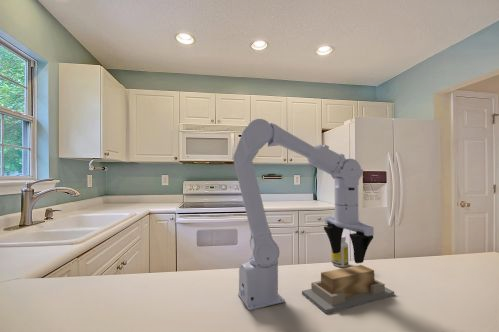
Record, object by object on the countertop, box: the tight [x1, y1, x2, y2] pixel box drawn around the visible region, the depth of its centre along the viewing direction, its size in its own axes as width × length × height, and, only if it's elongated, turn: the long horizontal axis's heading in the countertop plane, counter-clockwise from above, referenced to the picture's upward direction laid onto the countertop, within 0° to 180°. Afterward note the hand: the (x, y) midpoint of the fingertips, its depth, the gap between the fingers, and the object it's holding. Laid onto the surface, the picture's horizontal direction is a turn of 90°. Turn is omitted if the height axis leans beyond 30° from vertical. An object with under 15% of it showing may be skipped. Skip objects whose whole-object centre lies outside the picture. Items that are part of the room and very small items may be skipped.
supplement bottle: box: [331, 234, 349, 268], centre depth 79 cm, size 5×5×10 cm
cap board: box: [301, 278, 395, 314], centre depth 59 cm, size 22×9×3 cm, turn 112°
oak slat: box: [320, 264, 375, 297], centre depth 59 cm, size 14×4×5 cm, turn 112°
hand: (347, 257), depth 59 cm, fingers open, 7 cm apart
